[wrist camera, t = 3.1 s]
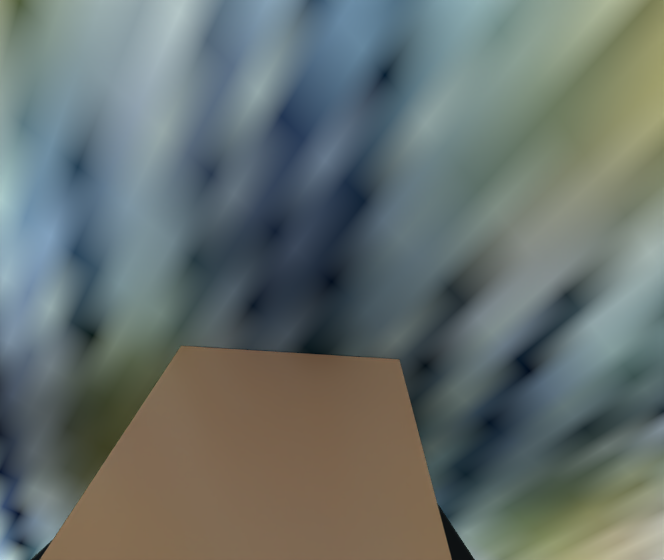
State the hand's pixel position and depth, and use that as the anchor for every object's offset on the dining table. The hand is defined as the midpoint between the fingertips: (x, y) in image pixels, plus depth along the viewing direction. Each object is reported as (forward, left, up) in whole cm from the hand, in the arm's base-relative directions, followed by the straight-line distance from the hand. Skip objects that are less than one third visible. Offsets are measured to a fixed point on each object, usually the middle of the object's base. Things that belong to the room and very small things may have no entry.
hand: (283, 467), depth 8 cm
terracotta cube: (0, 0, -1) cm, 1 cm away
